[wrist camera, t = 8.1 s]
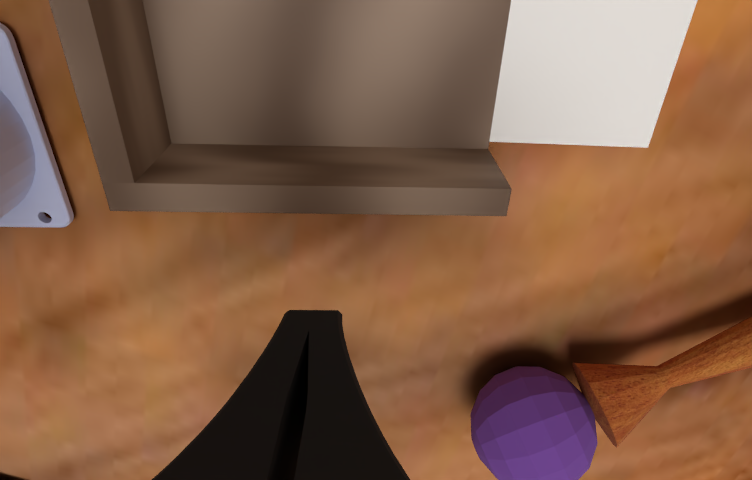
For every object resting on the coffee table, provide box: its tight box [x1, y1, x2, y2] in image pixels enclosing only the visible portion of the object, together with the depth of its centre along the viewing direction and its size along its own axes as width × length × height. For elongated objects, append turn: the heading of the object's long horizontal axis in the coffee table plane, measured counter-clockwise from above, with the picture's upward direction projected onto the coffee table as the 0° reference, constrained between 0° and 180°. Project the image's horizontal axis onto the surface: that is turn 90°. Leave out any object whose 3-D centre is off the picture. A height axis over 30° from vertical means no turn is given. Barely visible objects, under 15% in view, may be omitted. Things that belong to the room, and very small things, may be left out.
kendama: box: [471, 317, 752, 480], centre depth 24 cm, size 6×6×20 cm
